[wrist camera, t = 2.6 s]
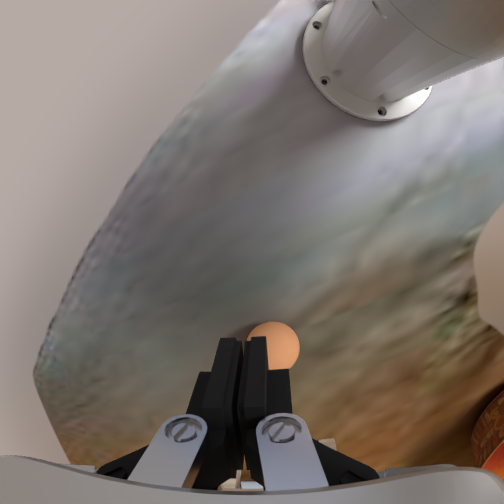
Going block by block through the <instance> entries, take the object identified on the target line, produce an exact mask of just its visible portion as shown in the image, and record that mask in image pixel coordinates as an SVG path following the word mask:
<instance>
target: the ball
mask: <svg viewBox="0 0 504 504" xmlns="http://www.w3.org/2000/svg"><path fill="white" fill-rule="evenodd" d="M256 336H266V340H267V353H268V365H269V370H273V369H289V368H291V367H292V366H293V364H294V363H295V362H296V360H297V358H298V355H299V349H300V346H299V341H298V338H297V335H296V334H295V332H294V331H293V330H292V329H291V328H290V327H289V326H287V325H285V324H283V323H281V322H275V321H270V322H265V323H262V324H260V325H258V326H257V327H255V328H254V329H253V330H252V331H251V332H250V334H249V336H248V338H247V341H251V337H256Z"/></svg>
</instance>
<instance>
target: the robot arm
mask: <svg viewBox="0 0 504 504" xmlns="http://www.w3.org/2000/svg"><path fill="white" fill-rule="evenodd" d="M314 27H317V28H318V29H315V28H314ZM302 51H303V58H304V63H305V66H306V69H307V72H308V74H309V76H310V77H311V79H312V81H313V83H314V85H315V86H316V87H317V88H318V89H319V91H320V92H321V93H322V94H323V95H324V96H325V97H326V98H327V99H328V100H329V101H330V102H331V103H333V104H334V105H335V106H337V107H338V108H340V109H341V110H343V111H345V112H347V113H349V114H351V115H353V116H356V117H358V118H362V119H366V120H370V121H390V120H396V119H399V118H403V117H405V116H407V115H409V114H412V113H414V112H415V111H416V110H417V109H419V108H420V107H421V106H422V105H423V104H424V103H425V101H426V100H427V99H428V97H429V95H430V93H431V91H432V89H433V85H435V84H437V83H439V82H442V81H444V80H447V79H449V78H451V77H454V76H456V75H459V74H461V73H464V72H466V71H469V70H471V69H474V68H476V67H479V66H481V65H484V64H486V63H489V62H492V61H494V60H497V59H500V58H502V57H504V0H335V1H332V2H330V3H328V4H326V5H324V6H323V7H322V8H320V9H319V10H318V11H317V12H316V13H315V14H314V15H313V17H312V18H311V19H310V21H309V23H308V25H307V27H306V29H305V33H304V37H303V47H302ZM322 80H324V81H326V83H327V84H326V85H323V84H322V83H321V81H322ZM378 110H380V111H381V115H379V114H378V112H377V111H378ZM244 455H245V461H246V466H247V470H250V473H251V478H252V479H253V480H255V481H256V482H257V483H259V484H260V485H261V486H263V491H223V483H224V482H226V481H227V480H229V479H236V475H237V470H243V462H244ZM0 504H504V480H503V479H502V478H500V477H499V476H498V475H497V474H495V473H493V472H492V471H489V470H486V469H483V468H476V467H457V466H454V465H452V464H439V465H429V466H418V467H403V468H386V470H385V472H376V471H375V470H374V469H372V468H371V467H369V466H367V465H365V464H363V463H361V462H359V461H356V460H354V459H352V458H350V457H348V456H346V455H344V454H342V453H340V452H338V451H336V450H334V449H332V448H330V447H328V446H326V445H324V444H322V443H320V442H318V441H316V440H314V439H312V438H311V435H310V432H309V430H308V427H307V424H306V423H305V421H304V420H303V419H302V418H300V417H299V416H296V415H294V414H292V402H291V391H290V379H289V369H273V370H269V365H268V353H267V340H266V336H256V337H251V341H246V342H245V349H244V356H243V348H242V342H241V341H236V338H220V341H219V345H218V349H217V352H216V356H215V360H214V363H213V367H212V370H211V372H200V373H199V375H198V378H197V381H196V384H195V387H194V390H193V393H192V396H191V399H190V402H189V406H188V409H187V412H186V414H182V415H176V416H174V417H171V418H169V419H168V420H166V421H165V422H164V423H163V424H162V425H161V427H160V428H159V430H158V432H157V433H156V435H155V436H154V438H153V440H152V441H151V443H150V444H149V445H147V446H145V447H143V448H141V449H139V450H137V451H135V452H132V453H130V454H128V455H126V456H123V457H121V458H119V459H116V460H114V461H112V462H109V463H107V464H105V465H103V466H102V467H100V468H99V469H97V468H96V467H95V466H86V465H68V464H57V463H53V462H48V461H45V460H41V459H36V458H31V457H25V456H17V455H15V456H14V455H13V456H12V455H4V456H0Z"/></svg>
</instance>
